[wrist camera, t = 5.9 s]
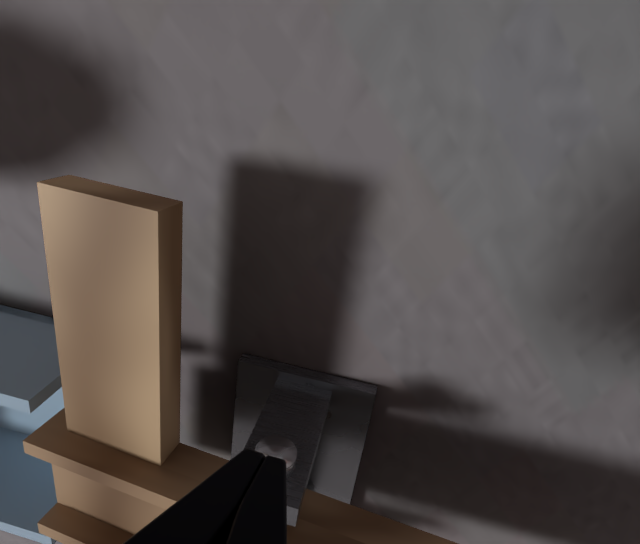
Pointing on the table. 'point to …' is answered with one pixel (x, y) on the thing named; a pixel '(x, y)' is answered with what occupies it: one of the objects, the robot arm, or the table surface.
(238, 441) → the stand
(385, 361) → the table surface
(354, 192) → the table surface
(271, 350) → the table surface
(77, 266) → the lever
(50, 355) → the bin
